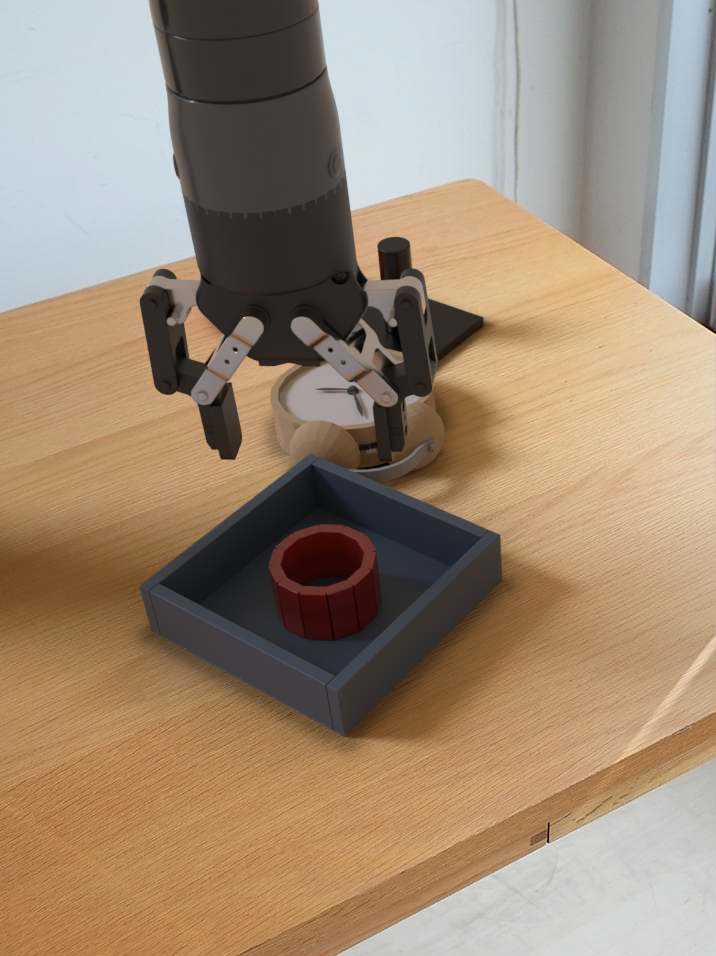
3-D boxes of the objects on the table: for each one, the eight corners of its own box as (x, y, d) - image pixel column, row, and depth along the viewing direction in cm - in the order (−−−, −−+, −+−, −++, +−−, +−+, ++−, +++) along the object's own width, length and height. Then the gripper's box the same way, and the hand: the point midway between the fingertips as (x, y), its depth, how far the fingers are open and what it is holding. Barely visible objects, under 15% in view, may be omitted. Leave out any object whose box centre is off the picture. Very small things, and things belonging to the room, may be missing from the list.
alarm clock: (415, 335, 96) (462, 418, 83) (422, 397, 98) (469, 487, 85) (260, 361, 94) (284, 450, 81) (271, 424, 96) (296, 520, 83)
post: (319, 348, 100) (306, 254, 95) (392, 296, 106) (384, 205, 101) (412, 383, 96) (404, 287, 91) (484, 328, 102) (480, 234, 97)
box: (152, 637, 77) (138, 585, 74) (318, 503, 86) (310, 452, 83) (346, 744, 70) (337, 691, 67) (503, 586, 79) (500, 534, 76)
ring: (256, 614, 77) (247, 568, 75) (324, 557, 81) (317, 511, 78) (335, 655, 74) (328, 609, 72) (401, 593, 78) (396, 547, 76)
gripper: (426, 133, 63) (449, 412, 73) (134, 135, 64) (197, 410, 74) (405, 206, 57) (433, 498, 67) (85, 207, 58) (160, 494, 68)
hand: (309, 451), depth 71 cm, fingers open, 8 cm apart
